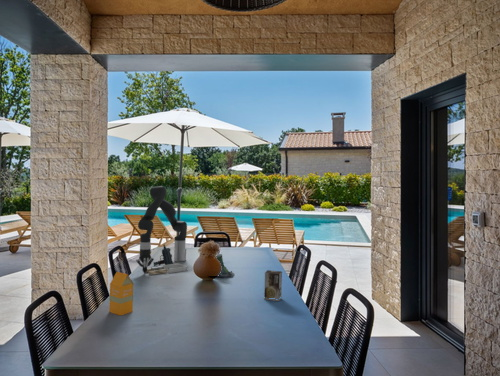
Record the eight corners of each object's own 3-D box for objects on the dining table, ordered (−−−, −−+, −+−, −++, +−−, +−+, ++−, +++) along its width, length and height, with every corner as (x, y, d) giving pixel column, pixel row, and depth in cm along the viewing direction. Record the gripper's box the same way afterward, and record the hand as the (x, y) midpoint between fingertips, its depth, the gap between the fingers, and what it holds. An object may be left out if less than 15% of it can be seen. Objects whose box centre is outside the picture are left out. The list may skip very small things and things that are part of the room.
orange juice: (120, 315, 187) (121, 275, 187) (108, 311, 192) (109, 272, 191) (132, 311, 194) (133, 272, 193) (121, 307, 198) (122, 270, 198)
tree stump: (240, 275, 274) (238, 253, 270) (220, 287, 261) (217, 263, 257) (224, 269, 287) (221, 248, 283) (203, 280, 274) (200, 257, 269)
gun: (150, 247, 296) (168, 242, 299) (155, 268, 297) (174, 263, 299) (149, 248, 294) (168, 243, 296) (154, 269, 295) (173, 264, 297)
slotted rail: (161, 270, 282) (161, 266, 282) (167, 272, 275) (167, 269, 275) (144, 272, 273) (144, 269, 273) (149, 275, 266) (149, 271, 266)
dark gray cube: (161, 271, 279) (161, 265, 279) (164, 272, 276) (164, 266, 276) (156, 271, 277) (156, 266, 277) (158, 272, 274) (159, 267, 274)
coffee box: (281, 298, 223) (282, 271, 222) (278, 301, 216) (279, 273, 216) (266, 296, 225) (267, 269, 225) (263, 299, 219) (264, 272, 219)
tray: (178, 266, 294) (178, 263, 294) (187, 270, 284) (187, 266, 284) (160, 269, 284) (160, 265, 284) (168, 273, 274) (168, 269, 274)
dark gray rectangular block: (155, 271, 277) (156, 266, 276) (158, 273, 273) (158, 267, 273) (150, 272, 274) (150, 267, 274) (153, 273, 271) (153, 268, 271)
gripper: (151, 246, 276) (151, 269, 276) (134, 248, 267) (133, 272, 267) (156, 248, 270) (155, 272, 270) (138, 249, 261) (138, 274, 262)
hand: (144, 272), depth 269 cm, fingers closed
